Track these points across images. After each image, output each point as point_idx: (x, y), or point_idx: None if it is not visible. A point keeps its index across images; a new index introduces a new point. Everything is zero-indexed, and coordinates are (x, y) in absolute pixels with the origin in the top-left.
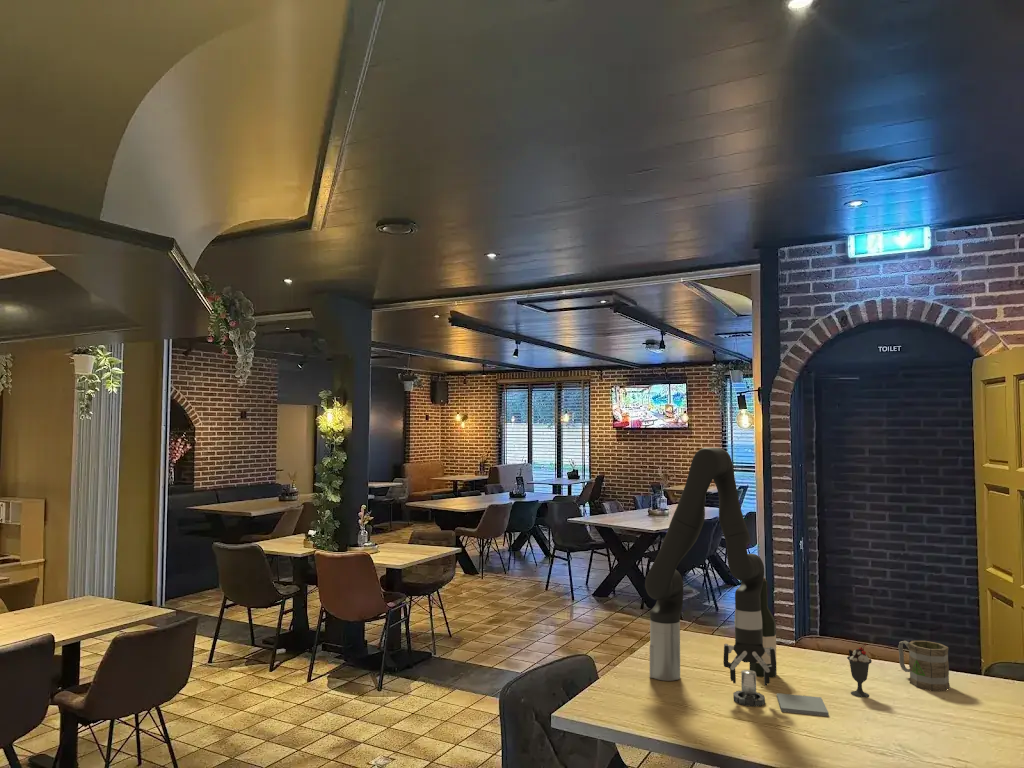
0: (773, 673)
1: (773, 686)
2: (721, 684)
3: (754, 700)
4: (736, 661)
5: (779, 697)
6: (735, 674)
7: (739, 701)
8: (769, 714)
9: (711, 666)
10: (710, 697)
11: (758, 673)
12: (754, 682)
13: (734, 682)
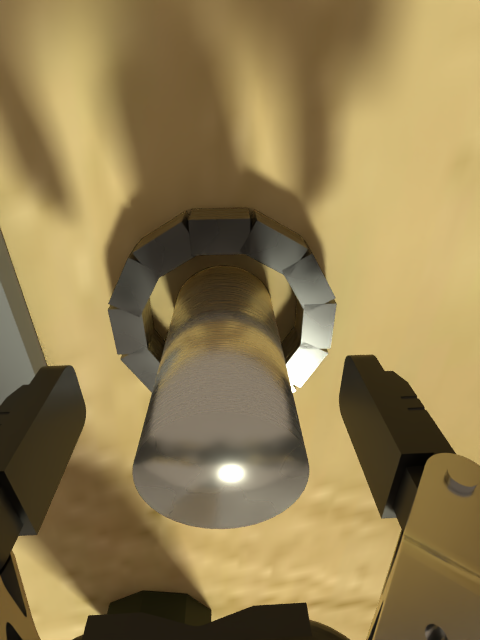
0: None
1: (103, 529)
2: (352, 493)
3: (182, 235)
4: (474, 592)
5: (26, 378)
6: (380, 415)
7: (297, 239)
8: (53, 46)
9: (354, 624)
10: (473, 303)
11: (173, 608)
12: (165, 369)
13: (361, 357)
